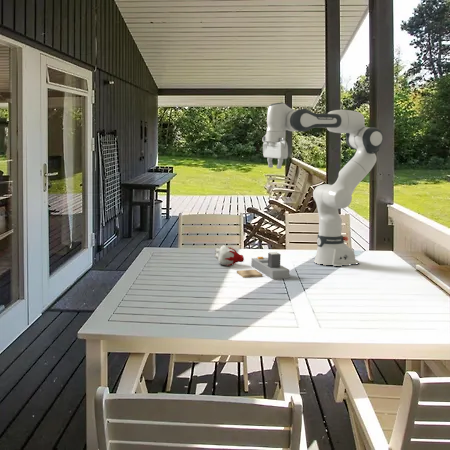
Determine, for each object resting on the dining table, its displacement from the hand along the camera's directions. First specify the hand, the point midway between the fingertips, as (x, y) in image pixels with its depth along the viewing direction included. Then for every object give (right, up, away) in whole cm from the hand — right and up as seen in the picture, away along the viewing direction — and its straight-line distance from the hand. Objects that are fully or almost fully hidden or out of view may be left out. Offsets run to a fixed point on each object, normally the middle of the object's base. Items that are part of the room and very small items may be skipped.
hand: (274, 168), depth 254 cm
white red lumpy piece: (-22, -46, +9) cm, 52 cm away
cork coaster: (-12, -49, -10) cm, 52 cm away
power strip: (-4, -48, -1) cm, 48 cm away
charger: (-1, -47, -9) cm, 47 cm away
